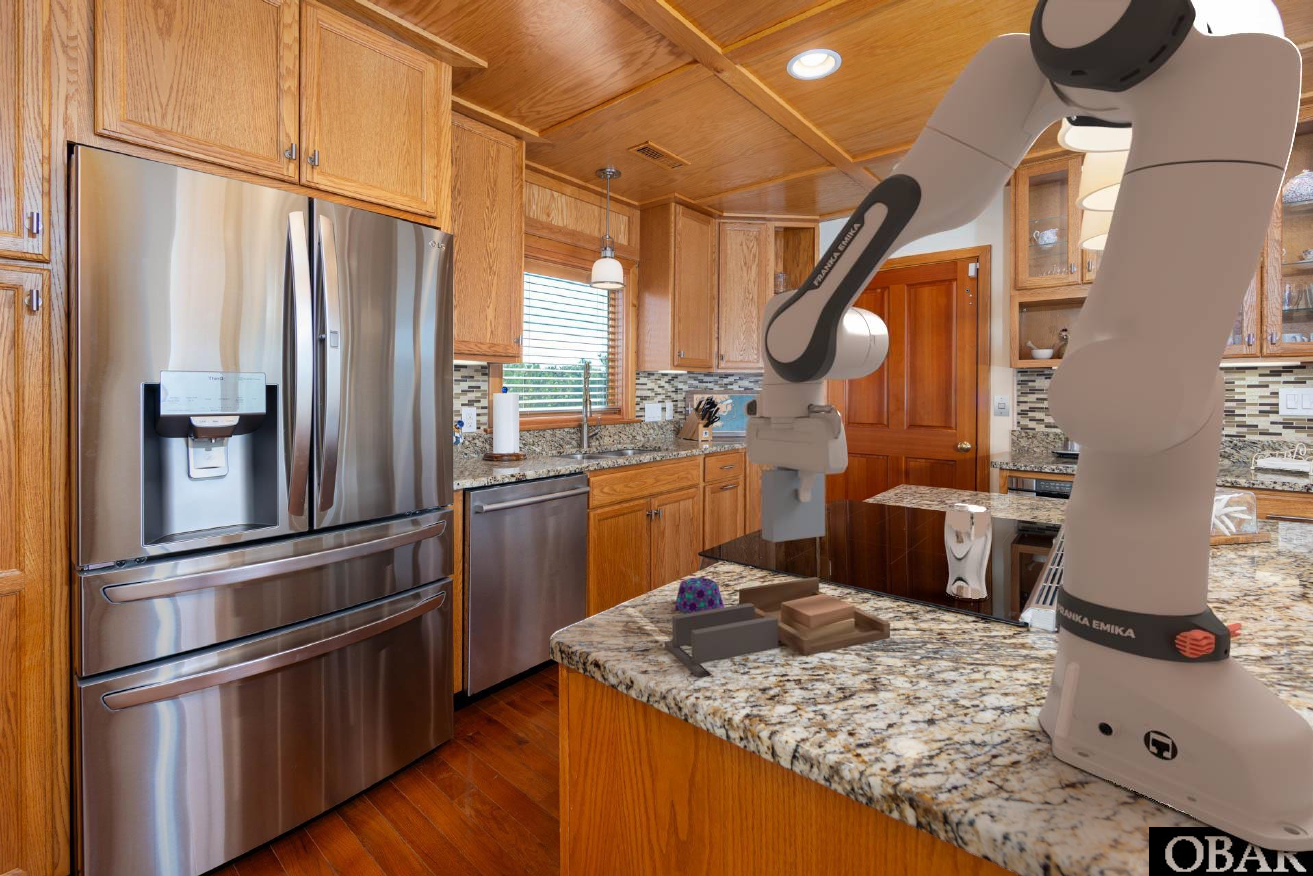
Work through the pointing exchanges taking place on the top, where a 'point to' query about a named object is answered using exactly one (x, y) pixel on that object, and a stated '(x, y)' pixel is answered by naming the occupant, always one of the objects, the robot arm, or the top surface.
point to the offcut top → (817, 611)
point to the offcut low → (822, 629)
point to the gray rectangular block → (791, 507)
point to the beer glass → (967, 549)
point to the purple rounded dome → (698, 596)
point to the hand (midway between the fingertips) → (793, 499)
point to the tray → (770, 605)
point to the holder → (720, 635)
